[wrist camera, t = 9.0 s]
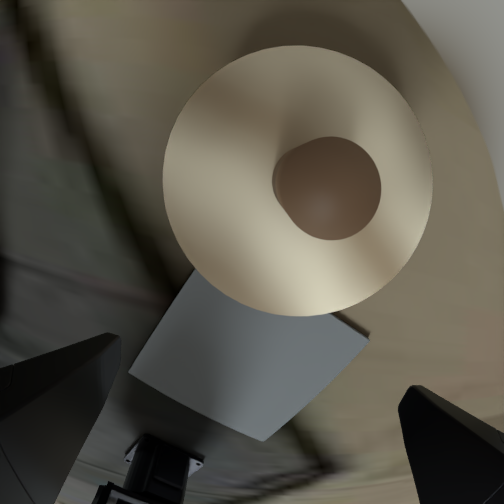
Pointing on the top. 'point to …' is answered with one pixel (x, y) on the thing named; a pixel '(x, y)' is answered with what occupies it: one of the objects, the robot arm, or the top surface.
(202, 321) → the mat
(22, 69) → the top surface
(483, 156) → the top surface
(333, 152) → the lid
